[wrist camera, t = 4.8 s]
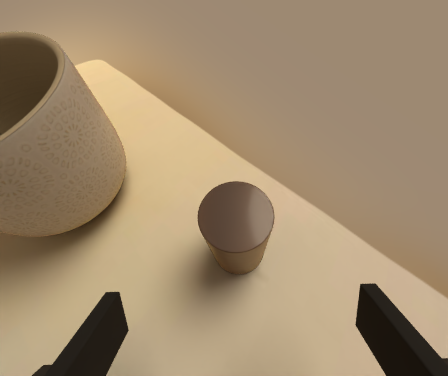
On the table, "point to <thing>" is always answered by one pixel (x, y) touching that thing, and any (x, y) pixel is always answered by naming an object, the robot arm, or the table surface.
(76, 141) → the planter
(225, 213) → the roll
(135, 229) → the table surface
